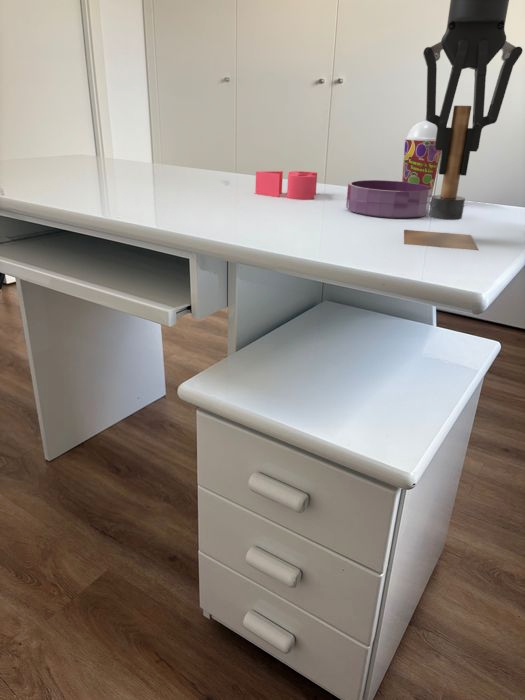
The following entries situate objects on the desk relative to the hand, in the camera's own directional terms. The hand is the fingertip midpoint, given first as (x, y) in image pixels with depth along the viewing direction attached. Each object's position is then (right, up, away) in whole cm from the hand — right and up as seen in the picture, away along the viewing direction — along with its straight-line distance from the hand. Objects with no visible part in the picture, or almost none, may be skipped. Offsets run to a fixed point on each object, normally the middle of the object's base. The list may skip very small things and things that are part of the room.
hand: (452, 173), depth 82 cm
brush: (0, -6, +3) cm, 7 cm away
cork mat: (-1, -10, +4) cm, 11 cm away
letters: (-24, +10, +45) cm, 52 cm away
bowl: (-4, +1, +27) cm, 27 cm away
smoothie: (+6, +7, +41) cm, 42 cm away
